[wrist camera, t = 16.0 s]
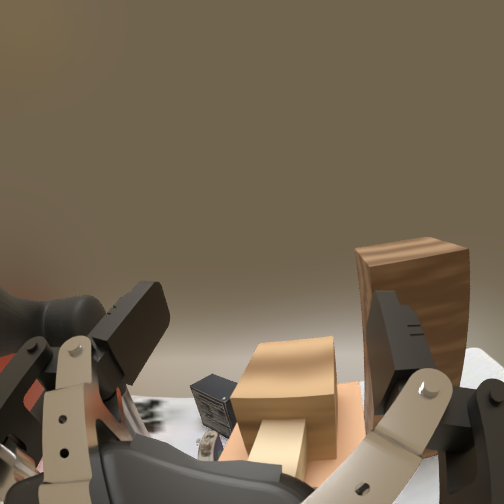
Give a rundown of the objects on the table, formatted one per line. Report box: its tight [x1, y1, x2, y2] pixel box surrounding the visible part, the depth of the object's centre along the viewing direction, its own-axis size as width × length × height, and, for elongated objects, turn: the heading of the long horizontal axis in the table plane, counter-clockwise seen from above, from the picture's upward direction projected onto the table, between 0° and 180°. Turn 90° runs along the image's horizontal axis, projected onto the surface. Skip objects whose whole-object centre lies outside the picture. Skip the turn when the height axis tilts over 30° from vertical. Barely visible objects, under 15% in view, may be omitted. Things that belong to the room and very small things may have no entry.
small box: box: [190, 374, 238, 438], centre depth 48 cm, size 11×6×10 cm, turn 48°
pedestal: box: [218, 381, 366, 490], centre depth 22 cm, size 14×12×20 cm
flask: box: [196, 430, 224, 461], centre depth 33 cm, size 9×3×11 cm, turn 1°
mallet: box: [230, 336, 338, 481], centre depth 14 cm, size 23×7×7 cm, turn 165°
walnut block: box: [355, 237, 470, 459], centre depth 33 cm, size 14×12×32 cm
